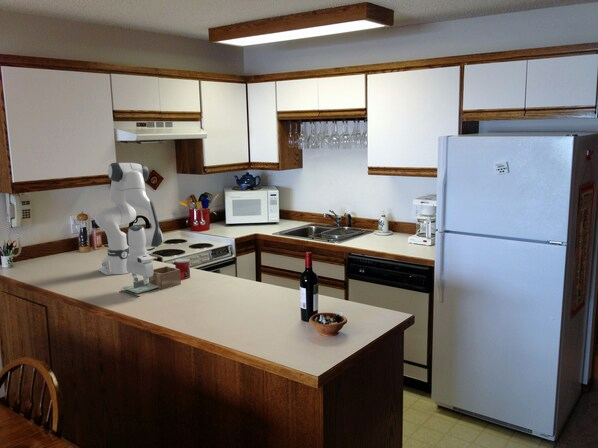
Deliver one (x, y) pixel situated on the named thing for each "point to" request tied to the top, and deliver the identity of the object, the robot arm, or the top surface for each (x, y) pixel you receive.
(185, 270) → the canned food
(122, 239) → the robot arm
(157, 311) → the top surface
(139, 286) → the lid
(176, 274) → the crate
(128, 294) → the dark grey flat plate
